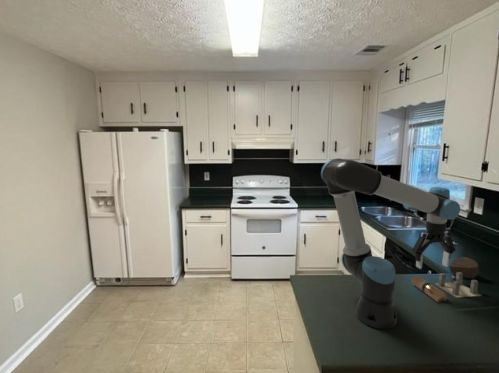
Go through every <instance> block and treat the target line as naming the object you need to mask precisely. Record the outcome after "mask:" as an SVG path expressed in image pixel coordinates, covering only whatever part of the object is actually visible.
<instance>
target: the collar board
mask: <svg viewBox="0 0 499 373" xmlns="http://www.w3.org/2000/svg"><path fill="white" fill-rule="evenodd" d="M446 277H447V274H446V273H444V272H441V273H440V272H439V277H438V282H435V283H434V285H436V286H438V287H439V288H440V289H442V290H444V291H445V292H447V293H448V294H450V295H451V296H453V297H454V298H467V297H481V296H483V295H482V294H480V293H479V292H478V287H479V281H478V280H476V279H471V280H470V281H471V282H470V287H468V286H466V285H464V284H463V279H464V278H463V273H461V272H457V273H456V276H455V277H456V281H453V284H452V283H450V281H449V282H447V281H446Z"/></svg>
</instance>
